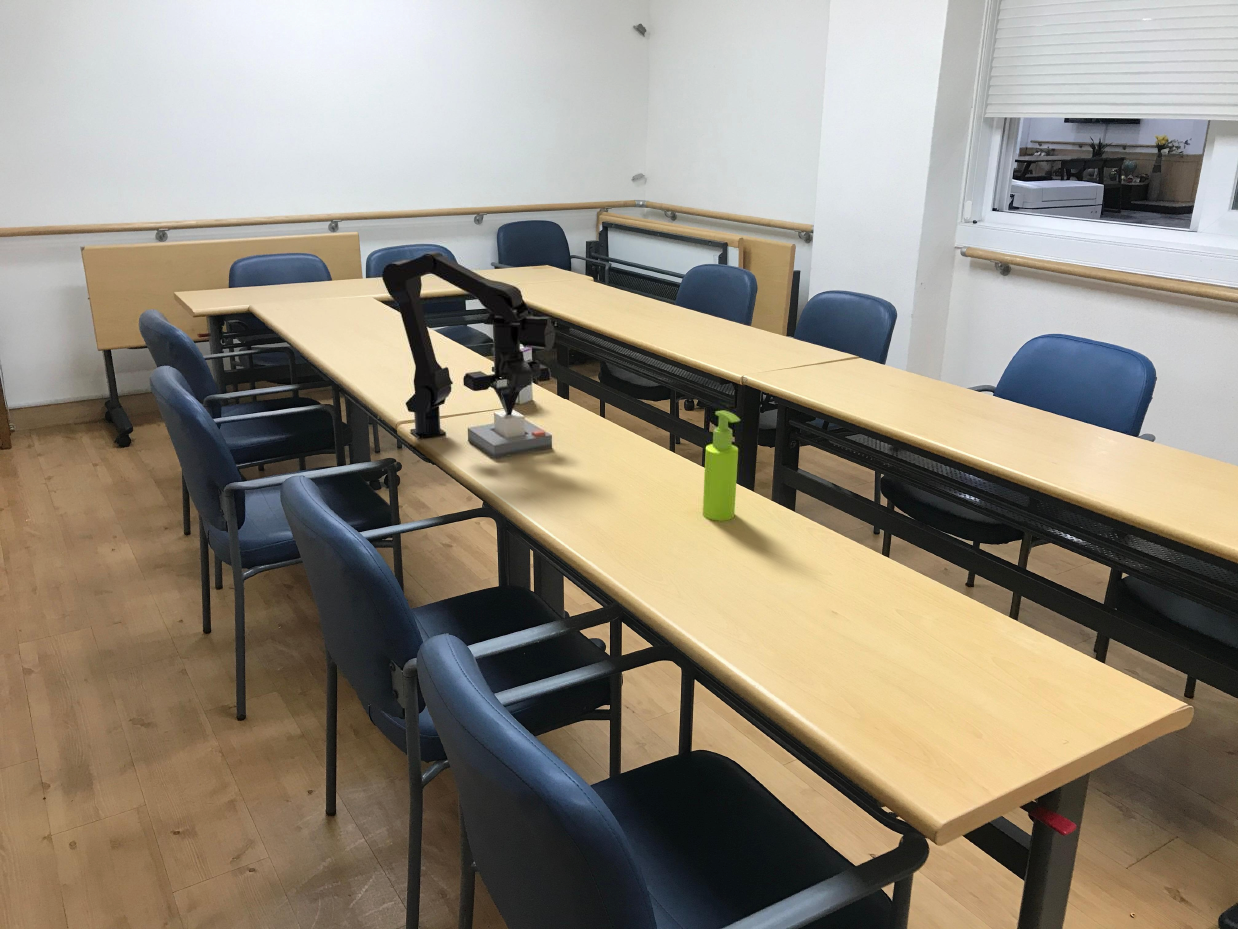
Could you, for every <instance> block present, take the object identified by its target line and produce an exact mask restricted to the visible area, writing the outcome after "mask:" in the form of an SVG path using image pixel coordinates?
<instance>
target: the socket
mask: <svg viewBox="0 0 1238 929" xmlns="http://www.w3.org/2000/svg"><path fill="white" fill-rule="evenodd" d="M467 441H469V443H471V444H473V445H474V446H476V447H477V448H478V449H480V450H482V452H484V453H486V454H487V455H489V456H490V457H492V458H493V459H500V458H505V457H510V456H516V455H521V454H525V453H526V454H528V453H532V452H537V451H542V450H549V449H552V448H553V435H552V434H551V433H549V432H548V431H545V430H544V429H543V428H540V427H538V426H537V425H535V424H533V423H532V422H530V421H529V420H527V419H525V435H520V436H515V437H509V438H504V437H501V436H500V435H499V434H498V433H496V432H495V430H494V422H493V423H488V424H483V425H476V426H469V427H467Z"/></svg>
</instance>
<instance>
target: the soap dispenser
mask: <svg viewBox="0 0 1238 929" xmlns="http://www.w3.org/2000/svg"><path fill="white" fill-rule="evenodd" d="M714 414H715V415H716V416H717V417H718V426H717V427H716V428H713V432H712V433H713V434H712V435H713V436H712V443H709V444H708V445H706V446H705V456H704V459H705V460H704V480H703V498H702V499H703V500H702V516H703V517H704V518H706V519H708V520H711V521H729V520H731V519H733V518H734V517H735V512H736V511H735V510H736V508H735V507H736V496H737V495H736V493H737V491H736V490H737V477H738V476H737V475H738V460H739V448H738V447H737V446H736V445H734V444H732V443H733V430H732V428H730V427H729V423H731V424H732V423H738V422H741V419H740V418H739V417H738V415H736V414H734V412H730V411H728V410H717V411H715V413H714Z"/></svg>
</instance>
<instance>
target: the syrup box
mask: <svg viewBox="0 0 1238 929" xmlns="http://www.w3.org/2000/svg"><path fill="white" fill-rule="evenodd" d="M532 349H533V348H527V347H523V345H522V344H520V350H521V351H523V357H524V361H525V362H528V361H529V362H530V361H533V356H532V353H533V352H532V351H533V350H532ZM533 392H534V391H533V383H532V384H531V385H528V386H527V387H525V388H523V389H522V390H521V391H520V392H519V394H518V397H517V399H516V402H515V404H517V405H523V404H525V403H527V402H530V401H533V399H534V395H533V394H534V393H533Z"/></svg>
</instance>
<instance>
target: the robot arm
mask: <svg viewBox="0 0 1238 929" xmlns="http://www.w3.org/2000/svg"><path fill="white" fill-rule="evenodd" d="M429 274H432V275H434V276H435V277H438V278H439V279H441V280H443V281H445V282H447V283H449V284H450V285H453V286H454V287H456V288H459V289H460V290H462V291H463V292H466V293H468V294H470V295H471V296H474V297H475V298H476V299H477V300H478V301H479V303H480V304H481V305H482V306H483V307H484V308H485V309H486V310H487V311H489V312H490V313H489V315H488V316H487V317H486V318H485V319H484V320H482V321H483V322H482V323H483V325H488V326H489V325H492V341H493V343H492V344H493V347H492V348H490V350H491V351H490V353H491V354H492V355H493V366H491V372H493V373H492V374H487V373H484V372H483V371H481V370H479V371H471V372H466V373H465V374H464V376H463V377H462V378H463V379H462V380H463V386H464V387H466V388H467V389H469V390H471V391H473V392H481V391H487V390H489V388H492V389H493V390H494V392H495V393H496V395H497V397H498V399H499V401H500V403H501V406H502V408H503V411H505V413H506V414H507V415H511V414H512V411H513V410H514V408H515V405H516V403H515V402H516V399H517V397H518V394H519V392H520V391H521V390H522V389H523V388H525V387H527V386H528V385H531V384H532V385H533V379H535V380H536V381H538V382H539V383H541V382H548V381H551V380H552V373H551V369H550V368H549V367H548V366H545V365H544V364H541V362H539V360H538V359H535V360H532V361H530V362H529V361H528V362H525V361H524V357H523V351H521V350H520V344H522V345H523V347H527V348H532V349H539V350H547V351H548V350H549V351H550V350H552V348H553V346H554V344H555V339H556V330H555V326H554V325H553V323H552V322H551V319H552V317H551V316H534V314H533V312H532V311H531V309H530V308H529V307H528V304H527V303H526V302H525V300H524V299H523V295H522V291H521V289H520V288H518V287H517V286H515V285H512V284H510V283H507V282H503V281H499V280H498V281H497V280H492V279H489V278H486V277H484V276H482V275H480V274H478V273H477V272H474V271H472V270H471V269H469V268H467V267H465V266H463V265H461V264H460V263H457V262H455V261H454V260H452V259H450V258H448V257H447V256H445V255H443V254H442V253H441V252H439V251H432V252H431V251H430V252H427V253H424V254H423V255H421V256H419V257H415V258H414V259H412V260H409V259H403V260H398V261H395V262H392V263H391V262H390V263H389V264H386V265H385V267H384V269H383V271H382V272H381V278H382V282H383V284H384V286H385V289H386V291H387V293H388V295H389V296H390V297H391V298H392V299H393V300H394V302H395V303H396V304H397V306H398V310H399V313H400V316H401V320H402V323H403V327H404V330H405V333H406V334H405V335H406V338H407V341H408V344H409V348H410V352H411V356H412V359H413V363H414V367H415V368H414V370H415V371H414V376H413V389H414V394H413V395H412V396H411V397H410V398H408V400H406V401H405V406H406V408H407V411H408V413H413V416H414V428H412V429H409V432H410V433H411V434H412V435H414V436H415V437H416V438H418V439H419V440H421V439H428V438H434V437H440V436H446V435H447V431H445V430H444V429H442V428H441V416H440V406H442V405H445V403H446V399H447V398H448V397H449V396H450V394H451V392H452V385H453V384H454V382H453V381H452V379H451V375H450V369H449V367H447V366H445V367H442V366H441V365H440V363H439V362H438V361H437V358H436V353H435V350H434V347H433V344H432V339H431V336H430V332H429V329H428V325H427V322H426V321H427V320H426V318H425V315H424V311H423V307H422V303H421V292H422V286H423V284H422V277H424V276H426V275H429ZM515 312H517V313H515Z"/></svg>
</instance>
